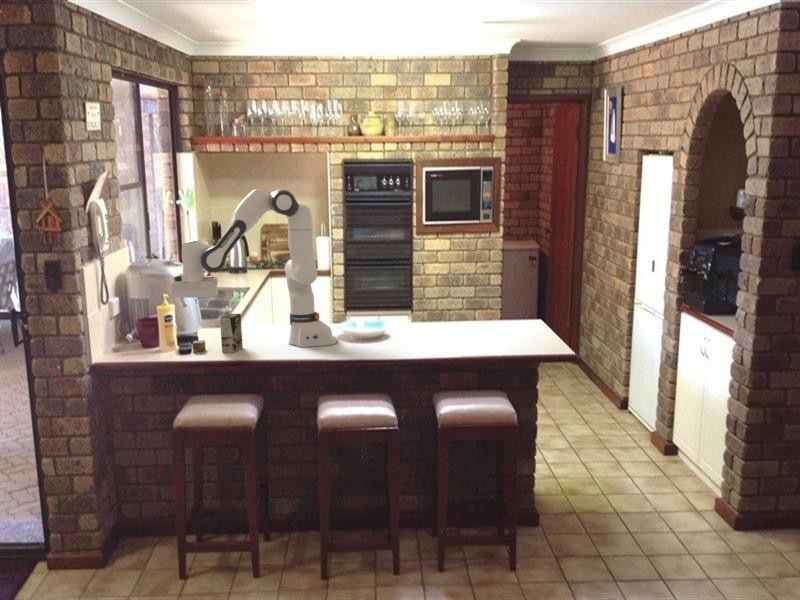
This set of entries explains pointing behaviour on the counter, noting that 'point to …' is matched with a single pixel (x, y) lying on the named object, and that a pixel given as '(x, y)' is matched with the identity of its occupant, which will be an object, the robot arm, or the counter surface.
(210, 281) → the robot arm
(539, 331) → the counter surface
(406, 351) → the counter surface
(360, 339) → the counter surface
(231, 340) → the coffee box
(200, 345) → the walnut block
